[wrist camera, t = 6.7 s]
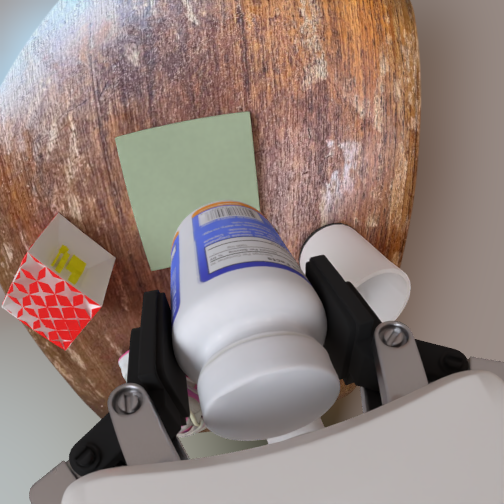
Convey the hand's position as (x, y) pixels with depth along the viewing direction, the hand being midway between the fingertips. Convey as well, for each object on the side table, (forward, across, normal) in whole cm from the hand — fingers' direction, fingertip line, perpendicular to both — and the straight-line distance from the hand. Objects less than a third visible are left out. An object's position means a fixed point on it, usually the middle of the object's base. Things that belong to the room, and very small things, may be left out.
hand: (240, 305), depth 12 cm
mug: (+19, -13, +13) cm, 26 cm away
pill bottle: (+5, 0, 0) cm, 5 cm away
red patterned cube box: (+19, +16, +6) cm, 25 cm away
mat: (+19, +1, +2) cm, 19 cm away
